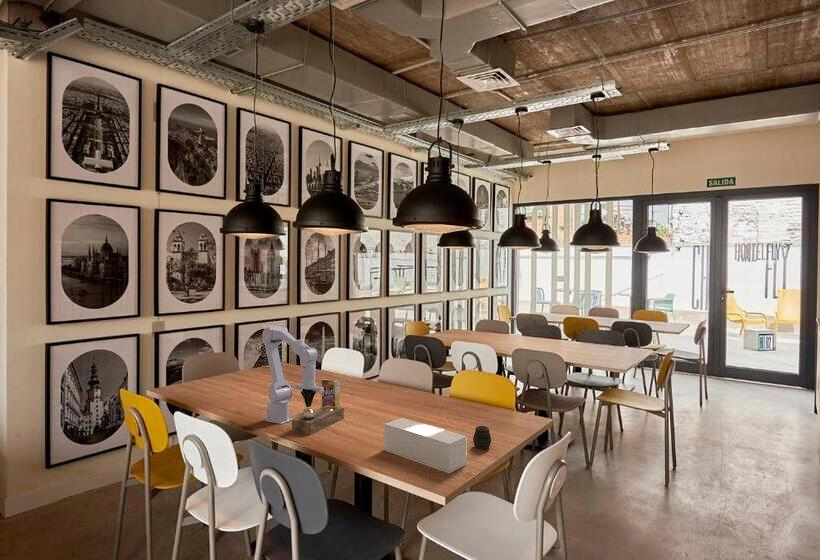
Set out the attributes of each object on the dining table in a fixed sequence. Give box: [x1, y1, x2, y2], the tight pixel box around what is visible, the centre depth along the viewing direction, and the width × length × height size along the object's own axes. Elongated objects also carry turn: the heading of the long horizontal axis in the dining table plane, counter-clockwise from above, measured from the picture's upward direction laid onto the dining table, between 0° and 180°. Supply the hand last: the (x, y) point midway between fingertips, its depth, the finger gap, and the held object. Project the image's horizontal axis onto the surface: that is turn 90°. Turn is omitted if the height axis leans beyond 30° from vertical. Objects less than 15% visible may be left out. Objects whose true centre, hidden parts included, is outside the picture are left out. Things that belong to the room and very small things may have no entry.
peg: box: [303, 407, 314, 421], centre depth 212 cm, size 4×4×4 cm
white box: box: [383, 417, 468, 474], centre depth 182 cm, size 32×11×11 cm, turn 49°
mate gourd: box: [472, 425, 492, 450], centre depth 193 cm, size 7×8×10 cm
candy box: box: [321, 377, 341, 407], centre depth 243 cm, size 9×4×15 cm, turn 60°
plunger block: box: [291, 405, 345, 436], centre depth 219 cm, size 10×26×5 cm, turn 155°
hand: (308, 406), depth 212 cm, fingers closed
